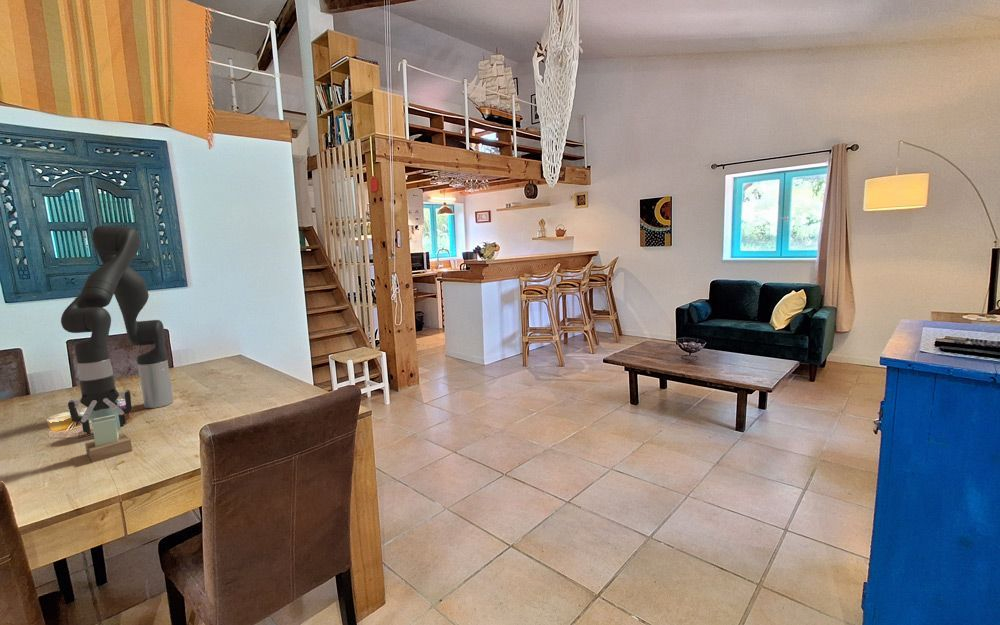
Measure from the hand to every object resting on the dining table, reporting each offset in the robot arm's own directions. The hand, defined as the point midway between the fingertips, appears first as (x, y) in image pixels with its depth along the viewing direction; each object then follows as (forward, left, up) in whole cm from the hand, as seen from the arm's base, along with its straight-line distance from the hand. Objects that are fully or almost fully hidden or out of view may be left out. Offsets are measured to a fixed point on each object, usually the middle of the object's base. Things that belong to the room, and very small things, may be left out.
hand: (105, 429), depth 134 cm
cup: (-21, -1, -7) cm, 22 cm away
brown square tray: (0, 0, -8) cm, 8 cm away
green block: (0, 0, -4) cm, 4 cm away
